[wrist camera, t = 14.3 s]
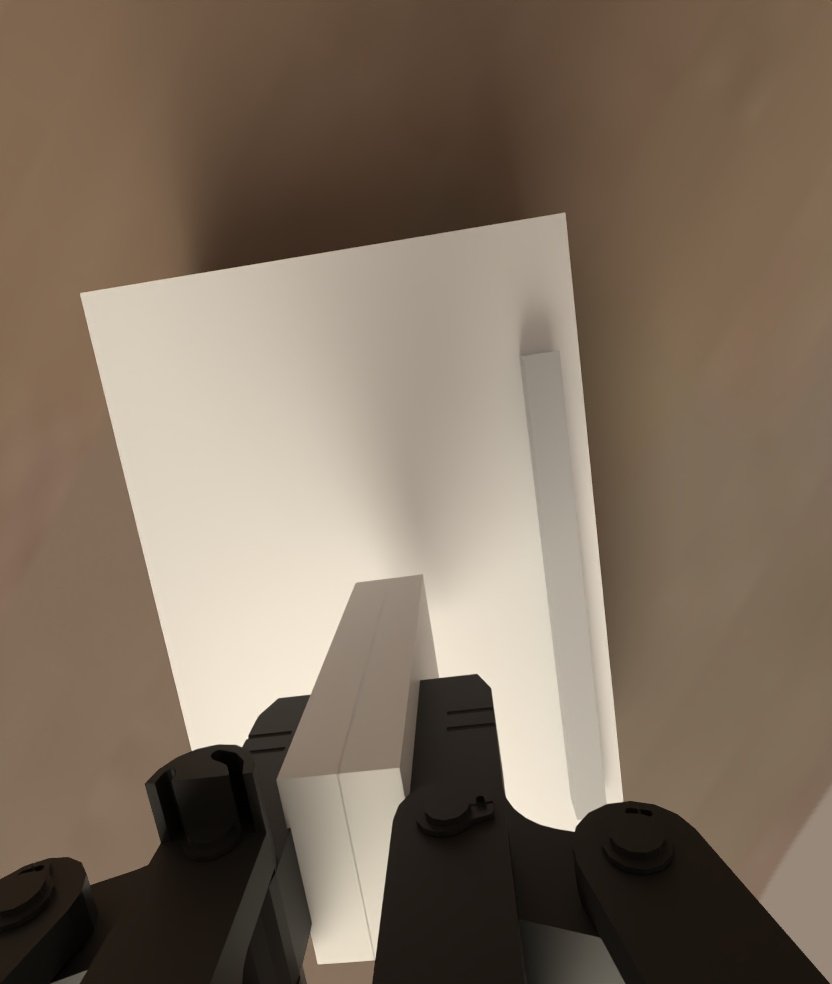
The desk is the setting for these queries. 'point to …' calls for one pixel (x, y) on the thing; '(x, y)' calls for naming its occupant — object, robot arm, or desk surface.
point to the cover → (373, 481)
